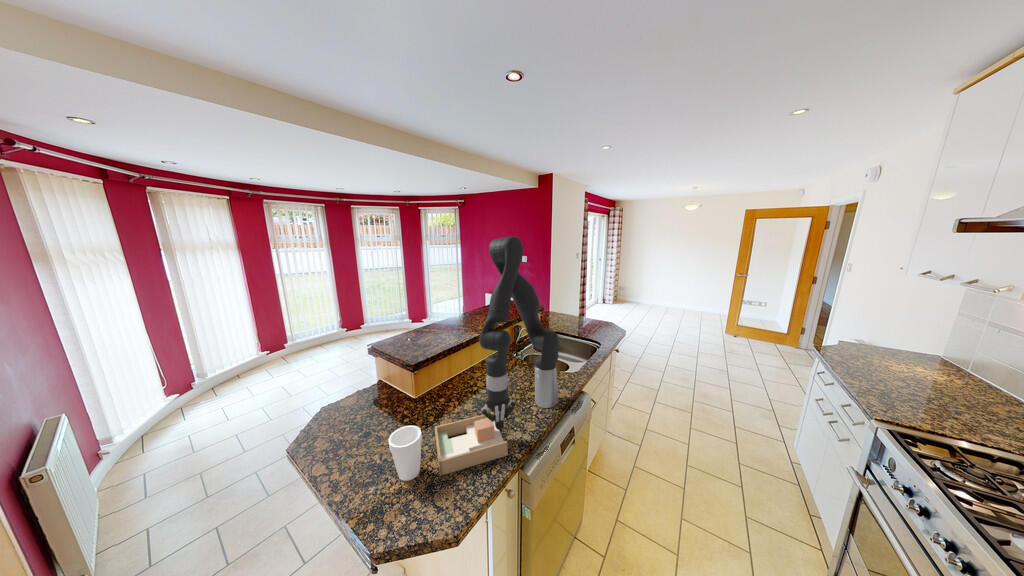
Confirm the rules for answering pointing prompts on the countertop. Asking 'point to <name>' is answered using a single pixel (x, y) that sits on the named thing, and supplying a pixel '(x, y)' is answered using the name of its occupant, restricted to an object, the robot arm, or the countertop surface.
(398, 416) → the countertop surface
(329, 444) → the countertop surface
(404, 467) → the foam cup
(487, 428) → the block
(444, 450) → the box
